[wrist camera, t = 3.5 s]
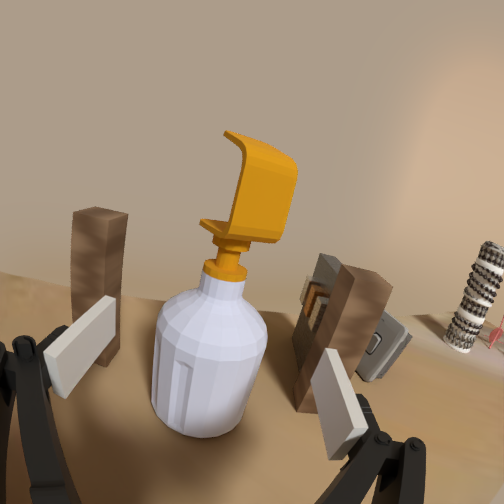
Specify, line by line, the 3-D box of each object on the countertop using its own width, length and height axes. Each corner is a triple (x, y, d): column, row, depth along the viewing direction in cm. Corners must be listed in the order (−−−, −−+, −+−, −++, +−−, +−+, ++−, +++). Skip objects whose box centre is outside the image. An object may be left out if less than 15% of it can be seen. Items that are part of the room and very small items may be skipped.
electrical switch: (336, 348, 41) (362, 297, 39) (359, 349, 43) (384, 302, 41) (365, 385, 32) (399, 329, 30) (388, 383, 34) (420, 331, 32)
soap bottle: (216, 371, 30) (270, 150, 24) (258, 426, 23) (347, 158, 17) (141, 380, 25) (178, 124, 19) (170, 449, 18) (233, 108, 12)
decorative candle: (438, 341, 50) (479, 235, 43) (445, 332, 55) (481, 238, 49) (468, 358, 43) (513, 250, 36) (472, 346, 49) (510, 252, 42)
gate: (76, 355, 25) (73, 212, 21) (92, 337, 29) (95, 206, 24) (329, 414, 26) (393, 286, 22) (323, 391, 30) (376, 272, 26)
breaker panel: (292, 384, 31) (334, 280, 27) (284, 336, 42) (311, 251, 38) (320, 387, 31) (364, 287, 27) (306, 339, 42) (335, 256, 38)
